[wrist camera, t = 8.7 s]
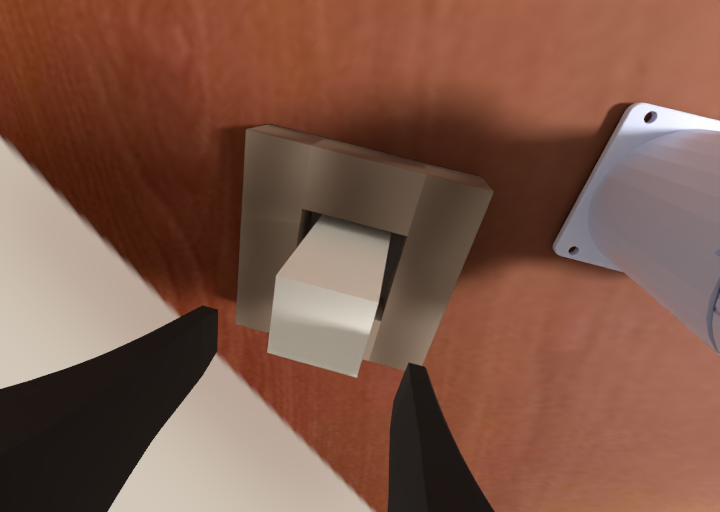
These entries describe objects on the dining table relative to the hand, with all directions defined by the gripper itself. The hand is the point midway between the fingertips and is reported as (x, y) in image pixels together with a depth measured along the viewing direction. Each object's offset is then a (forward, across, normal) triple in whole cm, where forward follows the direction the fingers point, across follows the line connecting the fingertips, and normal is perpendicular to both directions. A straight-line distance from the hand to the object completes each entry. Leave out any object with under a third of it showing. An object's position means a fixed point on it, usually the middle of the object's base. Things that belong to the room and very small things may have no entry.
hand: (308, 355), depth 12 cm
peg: (+9, 0, 0) cm, 9 cm away
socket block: (+10, 0, 0) cm, 10 cm away
